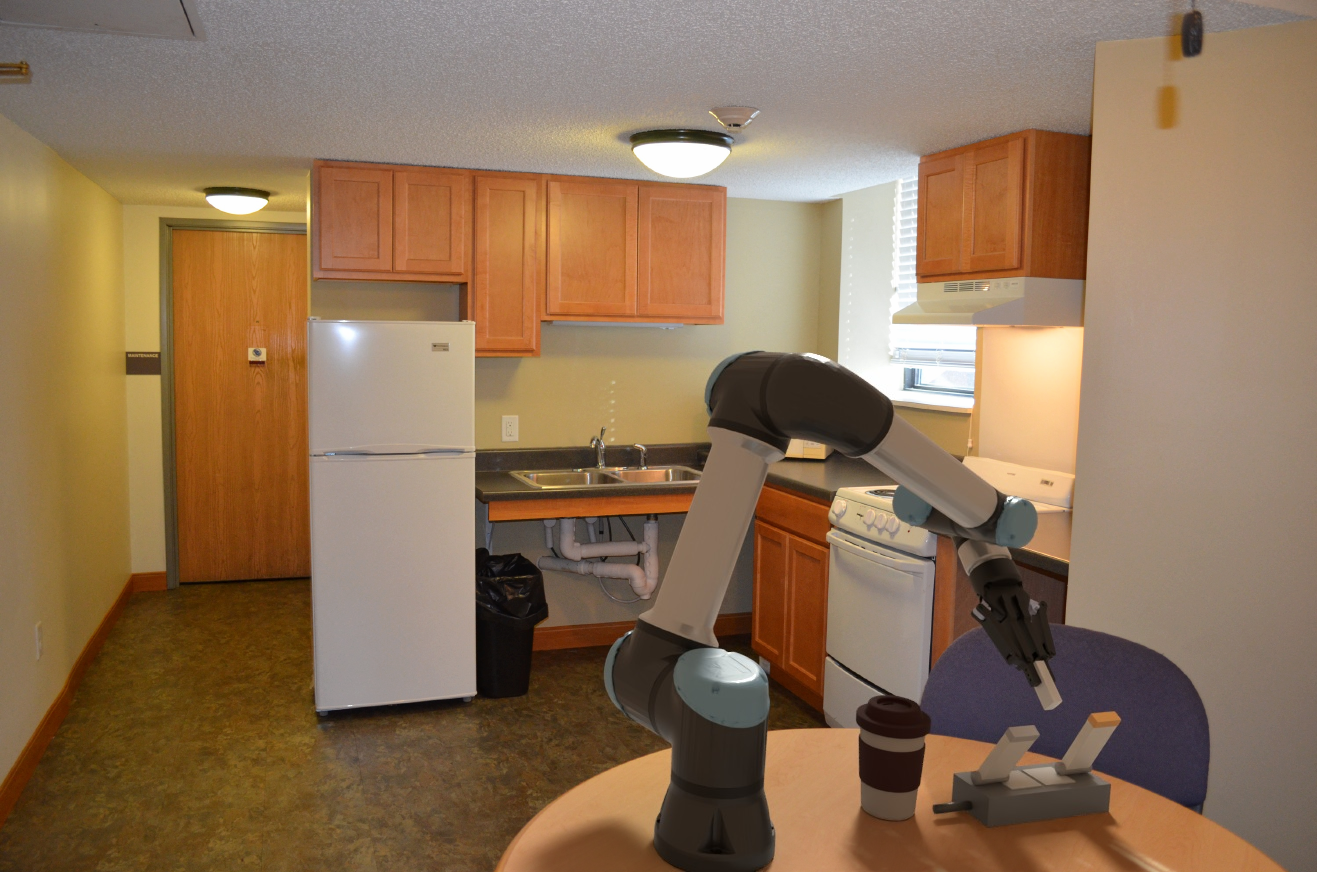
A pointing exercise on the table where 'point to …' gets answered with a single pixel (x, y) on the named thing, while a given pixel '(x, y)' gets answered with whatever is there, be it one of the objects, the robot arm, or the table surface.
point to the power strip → (1028, 796)
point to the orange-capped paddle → (1088, 743)
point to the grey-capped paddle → (1005, 755)
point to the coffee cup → (891, 755)
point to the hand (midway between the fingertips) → (1053, 705)
